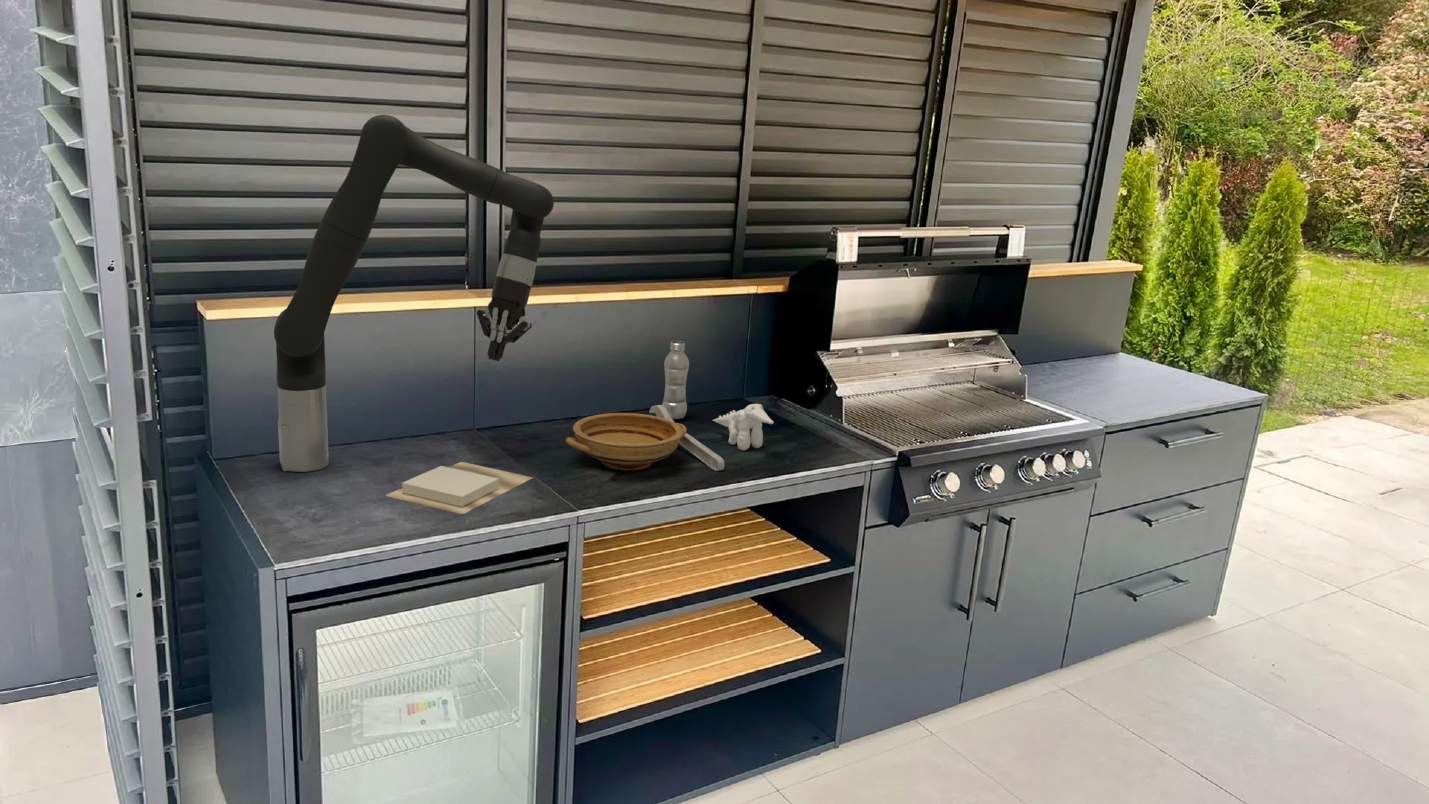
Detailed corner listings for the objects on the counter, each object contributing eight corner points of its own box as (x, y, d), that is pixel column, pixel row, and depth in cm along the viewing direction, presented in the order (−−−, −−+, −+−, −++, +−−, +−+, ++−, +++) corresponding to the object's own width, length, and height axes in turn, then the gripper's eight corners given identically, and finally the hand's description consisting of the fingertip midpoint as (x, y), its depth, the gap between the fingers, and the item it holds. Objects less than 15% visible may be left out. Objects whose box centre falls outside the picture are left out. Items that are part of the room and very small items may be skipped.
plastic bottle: (687, 416, 271) (692, 340, 266) (684, 423, 265) (688, 346, 260) (663, 413, 272) (667, 338, 267) (659, 421, 265) (663, 343, 260)
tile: (441, 475, 213) (402, 493, 202) (441, 465, 212) (401, 482, 202) (499, 488, 208) (462, 507, 197) (499, 478, 207) (462, 496, 197)
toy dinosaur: (760, 458, 239) (761, 410, 237) (700, 439, 258) (700, 394, 256) (783, 454, 243) (784, 407, 241) (723, 435, 262) (723, 392, 260)
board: (462, 521, 194) (462, 514, 194) (384, 502, 201) (384, 495, 201) (533, 484, 216) (533, 477, 215) (461, 468, 222) (461, 461, 222)
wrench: (715, 484, 232) (646, 432, 254) (722, 483, 233) (653, 431, 255) (720, 451, 229) (650, 401, 251) (727, 450, 230) (656, 400, 252)
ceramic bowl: (654, 438, 251) (656, 406, 249) (712, 469, 232) (714, 434, 230) (542, 455, 234) (542, 420, 232) (594, 489, 215) (595, 452, 213)
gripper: (478, 269, 217) (457, 350, 217) (531, 282, 212) (510, 365, 213) (497, 276, 224) (477, 354, 224) (550, 289, 219) (529, 369, 220)
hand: (493, 359), depth 219 cm, fingers closed
